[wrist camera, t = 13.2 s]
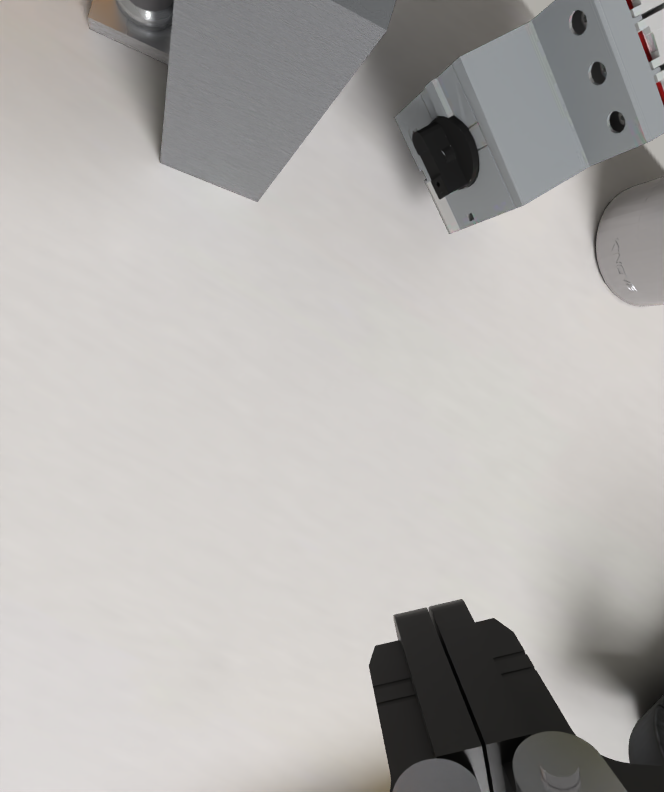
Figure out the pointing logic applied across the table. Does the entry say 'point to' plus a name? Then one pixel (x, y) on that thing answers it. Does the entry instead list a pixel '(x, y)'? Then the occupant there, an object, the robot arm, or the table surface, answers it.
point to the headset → (648, 737)
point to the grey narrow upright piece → (538, 106)
